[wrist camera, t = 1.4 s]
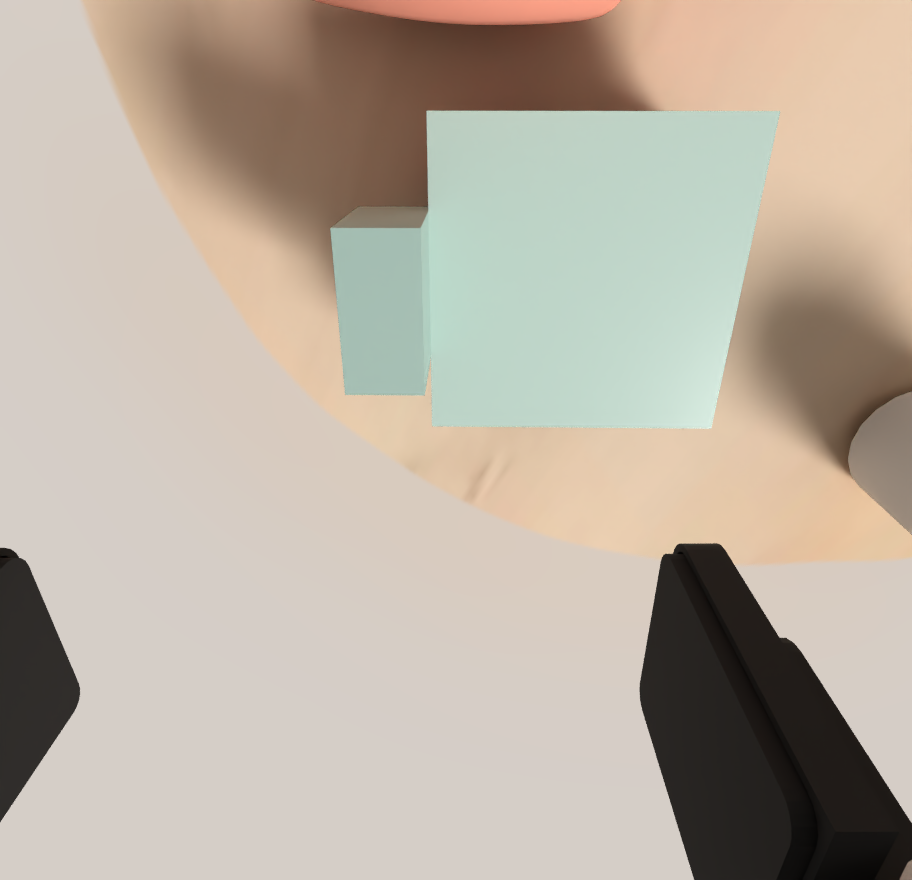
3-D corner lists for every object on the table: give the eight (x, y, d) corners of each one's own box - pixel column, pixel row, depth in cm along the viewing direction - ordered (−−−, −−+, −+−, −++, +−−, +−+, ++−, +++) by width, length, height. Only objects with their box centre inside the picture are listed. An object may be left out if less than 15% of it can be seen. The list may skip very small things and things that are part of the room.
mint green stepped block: (356, 111, 25) (319, 107, 18) (751, 112, 24) (848, 108, 18) (375, 404, 31) (352, 474, 24) (693, 406, 30) (751, 478, 24)
